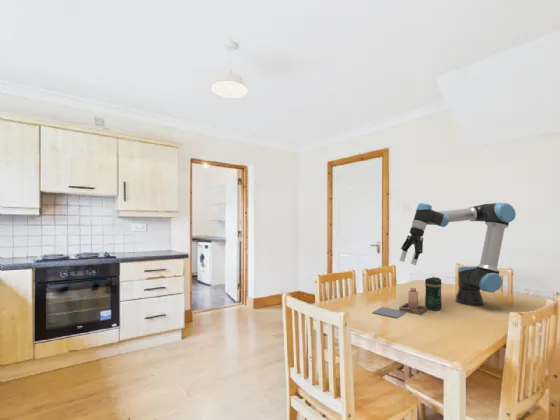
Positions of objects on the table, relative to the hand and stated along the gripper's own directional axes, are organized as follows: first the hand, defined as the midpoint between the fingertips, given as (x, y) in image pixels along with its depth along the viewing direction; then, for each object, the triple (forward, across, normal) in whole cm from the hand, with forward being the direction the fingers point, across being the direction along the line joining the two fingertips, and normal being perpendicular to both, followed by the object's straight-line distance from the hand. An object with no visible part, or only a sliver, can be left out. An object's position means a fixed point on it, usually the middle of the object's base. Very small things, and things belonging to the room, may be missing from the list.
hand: (407, 262), depth 179 cm
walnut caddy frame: (+25, 0, +12) cm, 28 cm away
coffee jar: (+21, -3, +25) cm, 33 cm away
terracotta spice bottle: (+25, 0, +12) cm, 28 cm away
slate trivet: (+30, +4, -3) cm, 31 cm away
